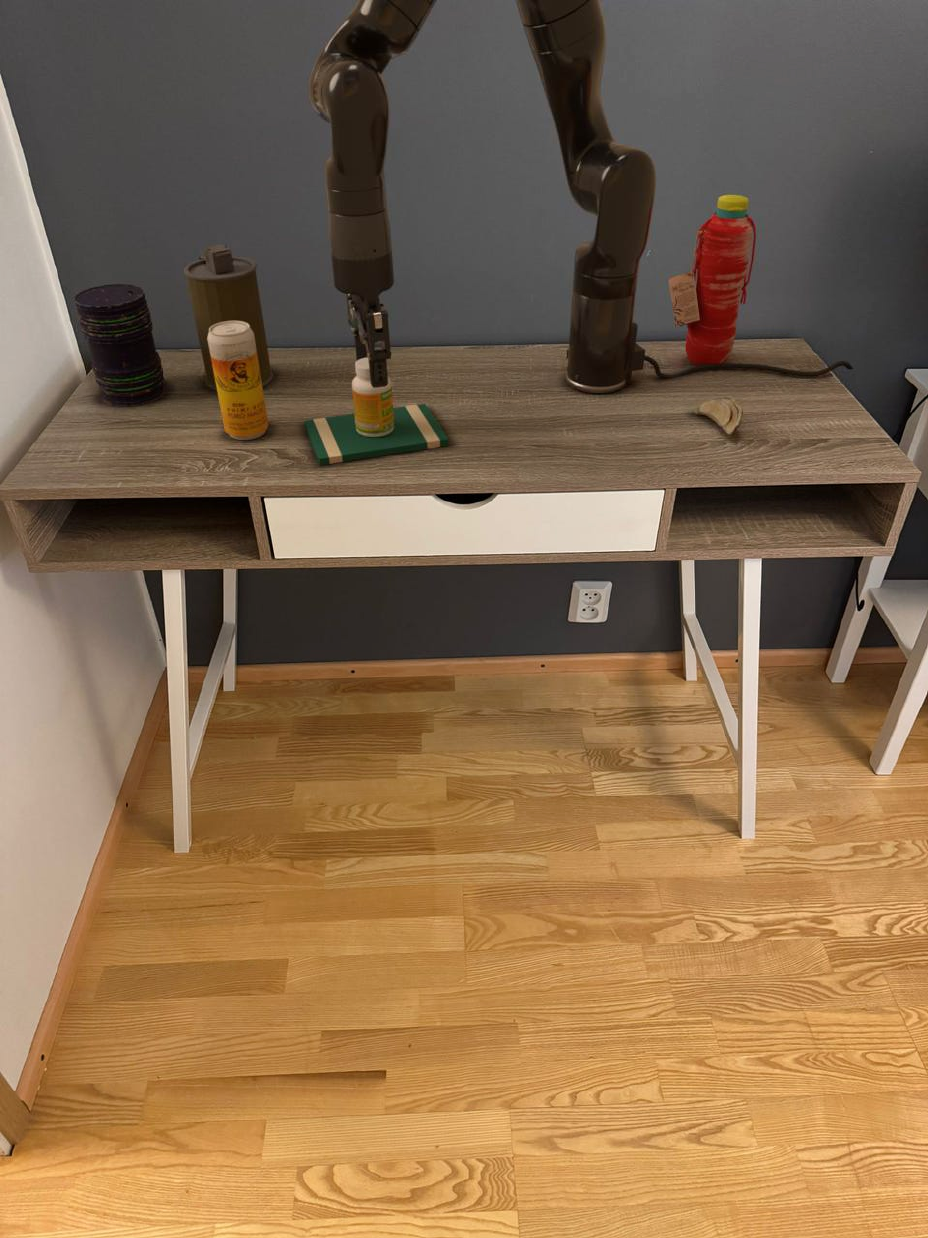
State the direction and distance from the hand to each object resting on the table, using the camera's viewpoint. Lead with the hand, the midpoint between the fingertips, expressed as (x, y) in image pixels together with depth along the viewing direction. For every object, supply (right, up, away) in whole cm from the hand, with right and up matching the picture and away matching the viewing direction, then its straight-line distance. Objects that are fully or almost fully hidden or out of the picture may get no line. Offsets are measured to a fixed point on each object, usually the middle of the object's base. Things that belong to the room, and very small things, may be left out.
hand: (372, 373), depth 119 cm
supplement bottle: (0, -7, +5) cm, 8 cm away
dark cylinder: (-39, +2, +18) cm, 42 cm away
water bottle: (+50, +9, +26) cm, 57 cm away
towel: (0, -7, +6) cm, 9 cm away
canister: (-23, +5, +21) cm, 32 cm away
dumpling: (+49, -6, +7) cm, 50 cm away
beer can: (-18, -7, +7) cm, 21 cm away
